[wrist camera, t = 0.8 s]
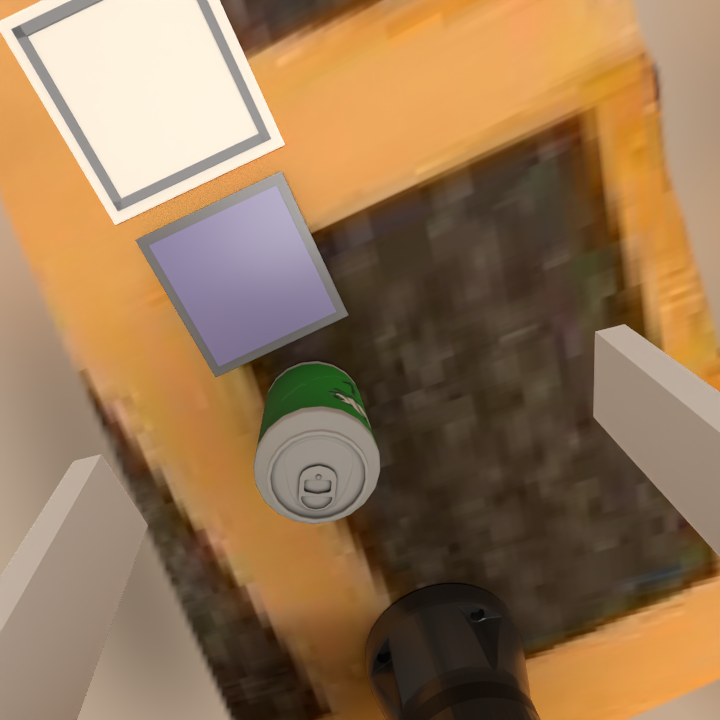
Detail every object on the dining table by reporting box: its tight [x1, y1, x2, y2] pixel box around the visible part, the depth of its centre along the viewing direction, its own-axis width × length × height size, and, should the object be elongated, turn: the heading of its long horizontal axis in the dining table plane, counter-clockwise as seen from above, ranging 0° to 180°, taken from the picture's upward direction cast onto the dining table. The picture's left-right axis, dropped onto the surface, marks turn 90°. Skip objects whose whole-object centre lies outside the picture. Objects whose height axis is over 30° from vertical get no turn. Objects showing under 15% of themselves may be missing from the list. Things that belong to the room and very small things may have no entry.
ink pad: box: [136, 171, 348, 377], centre depth 35 cm, size 11×11×2 cm
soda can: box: [253, 361, 380, 524], centre depth 33 cm, size 8×8×12 cm
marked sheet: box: [0, 0, 285, 225], centre depth 31 cm, size 13×13×1 cm
